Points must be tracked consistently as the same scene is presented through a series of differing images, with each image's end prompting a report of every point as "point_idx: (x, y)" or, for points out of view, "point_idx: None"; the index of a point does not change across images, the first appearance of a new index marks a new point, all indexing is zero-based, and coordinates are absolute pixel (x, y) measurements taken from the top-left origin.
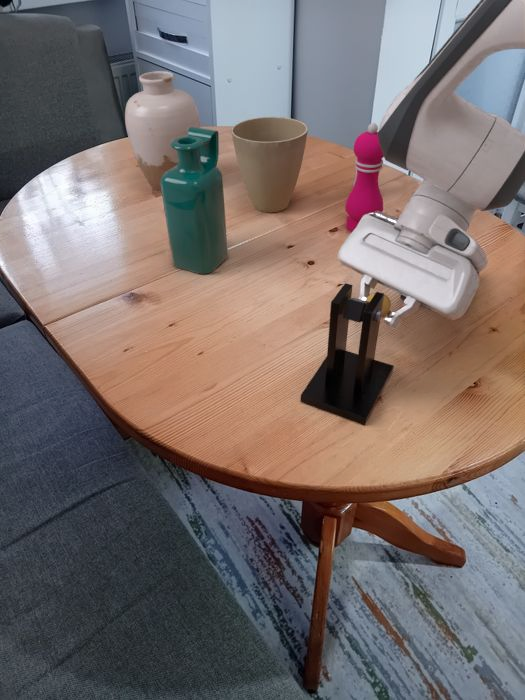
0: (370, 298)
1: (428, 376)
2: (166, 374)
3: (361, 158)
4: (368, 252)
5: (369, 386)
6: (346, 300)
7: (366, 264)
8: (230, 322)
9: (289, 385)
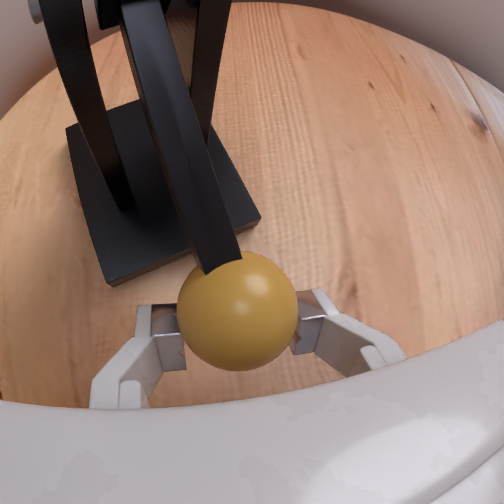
0: (263, 266)
1: (55, 343)
2: (348, 47)
3: None
4: (494, 406)
5: (103, 184)
6: None
7: (448, 373)
8: (421, 155)
9: (233, 107)
